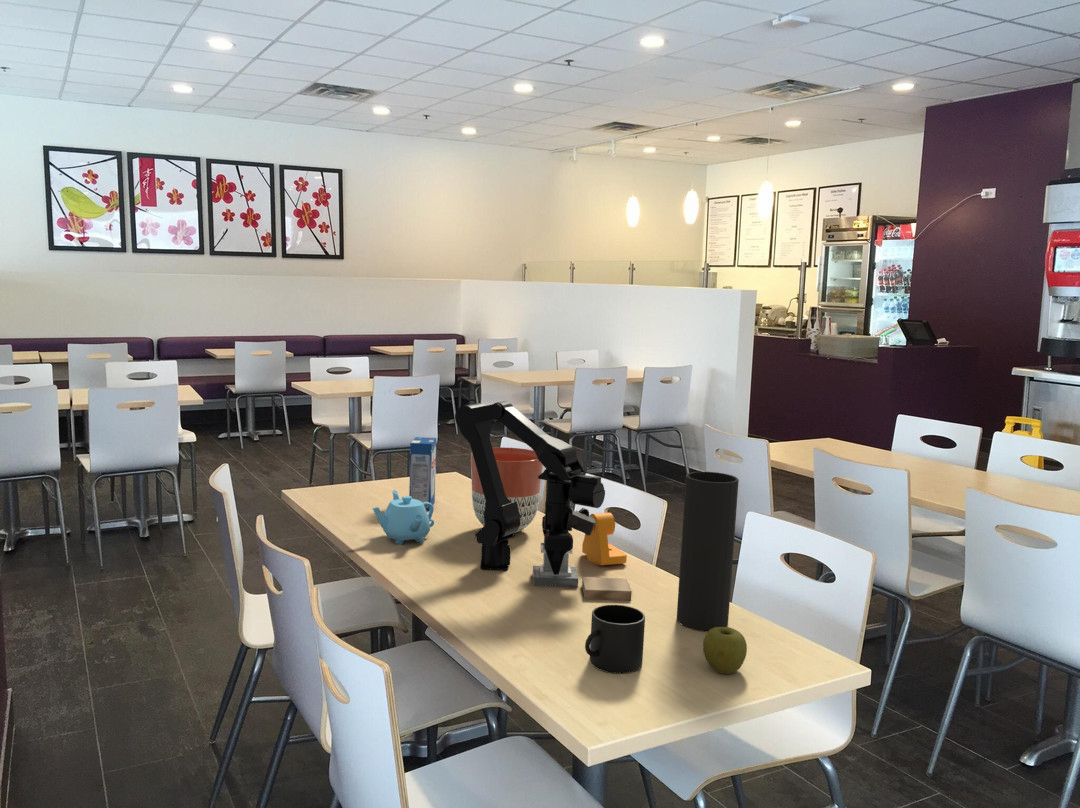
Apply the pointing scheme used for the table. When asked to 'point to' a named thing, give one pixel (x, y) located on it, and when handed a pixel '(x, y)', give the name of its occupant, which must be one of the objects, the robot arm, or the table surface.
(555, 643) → the table surface
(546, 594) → the table surface
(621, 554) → the bracket
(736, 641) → the apple
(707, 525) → the vase
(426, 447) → the milk carton
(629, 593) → the stand
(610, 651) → the mug
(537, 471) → the planter
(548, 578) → the stand
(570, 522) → the robot arm
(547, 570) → the block
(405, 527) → the teapot
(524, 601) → the table surface
